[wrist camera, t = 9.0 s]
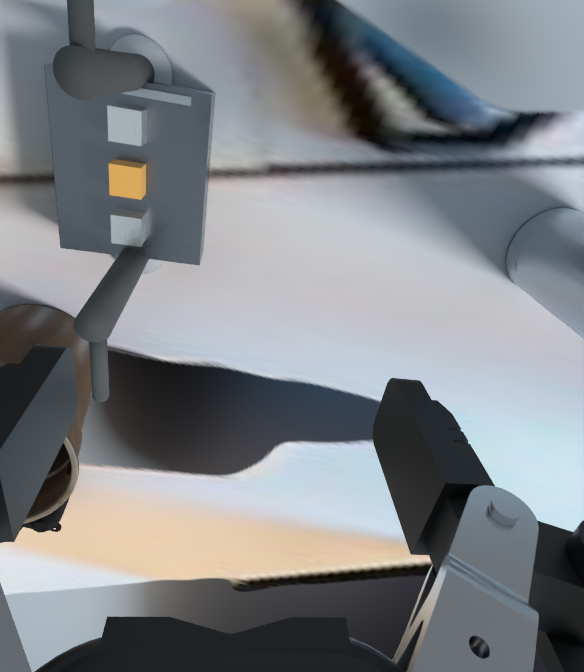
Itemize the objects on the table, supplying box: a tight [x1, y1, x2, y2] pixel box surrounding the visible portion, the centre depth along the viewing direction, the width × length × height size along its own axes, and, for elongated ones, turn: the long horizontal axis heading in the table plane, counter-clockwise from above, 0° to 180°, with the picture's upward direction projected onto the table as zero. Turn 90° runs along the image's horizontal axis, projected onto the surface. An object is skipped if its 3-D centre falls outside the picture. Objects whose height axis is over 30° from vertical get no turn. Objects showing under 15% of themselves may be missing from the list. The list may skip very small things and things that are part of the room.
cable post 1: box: [53, 0, 173, 100], centre depth 29 cm, size 5×10×16 cm, turn 170°
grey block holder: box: [44, 64, 215, 265], centre depth 38 cm, size 12×14×6 cm
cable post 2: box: [74, 249, 164, 402], centre depth 38 cm, size 5×10×16 cm, turn 170°
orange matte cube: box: [109, 159, 146, 200], centre depth 36 cm, size 2×2×2 cm
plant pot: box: [0, 304, 92, 524], centre depth 42 cm, size 16×16×16 cm
